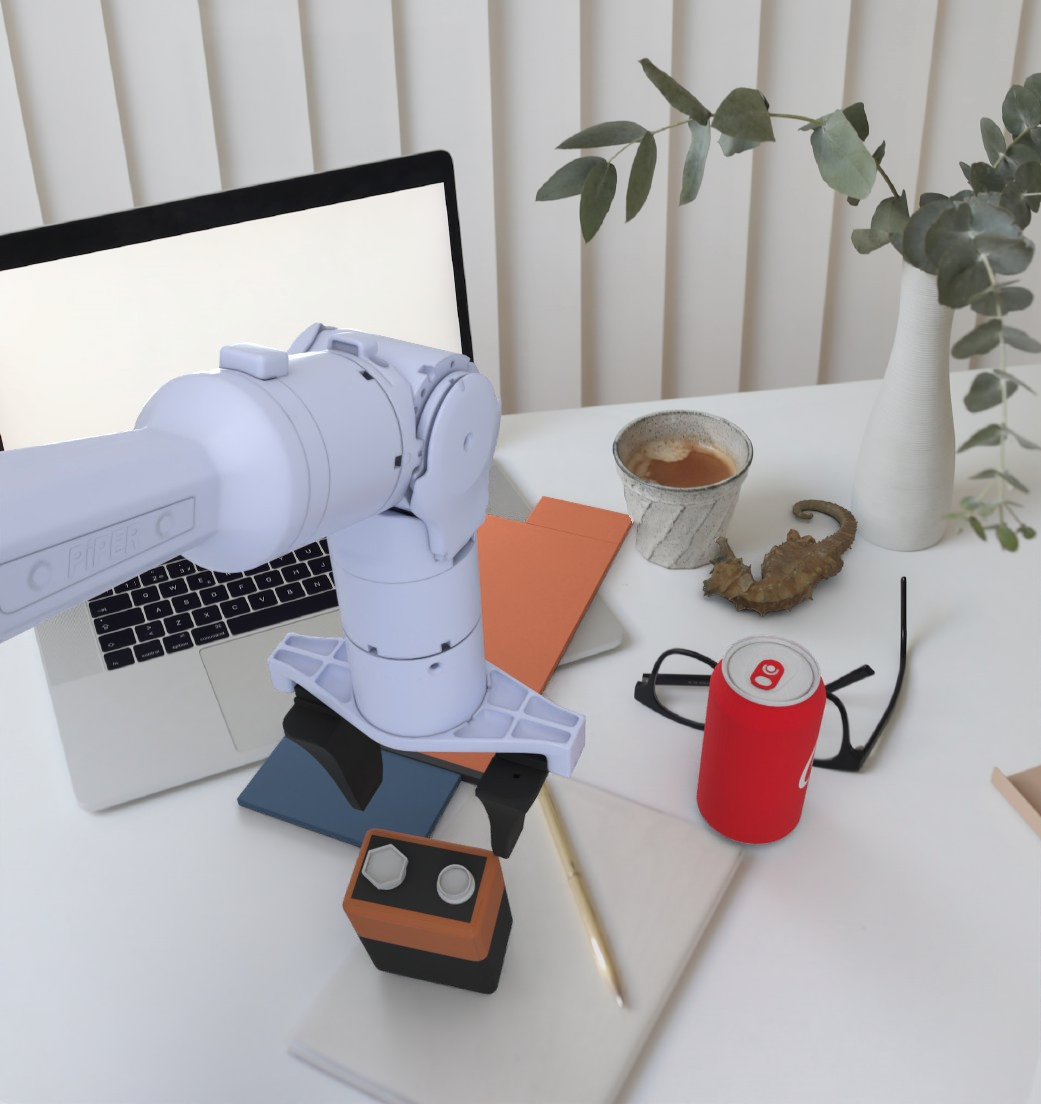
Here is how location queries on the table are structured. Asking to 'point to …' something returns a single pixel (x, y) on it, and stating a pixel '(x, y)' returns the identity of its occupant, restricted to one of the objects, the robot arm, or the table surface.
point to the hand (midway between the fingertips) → (436, 817)
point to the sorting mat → (509, 643)
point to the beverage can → (760, 738)
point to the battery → (430, 909)
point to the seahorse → (784, 565)
